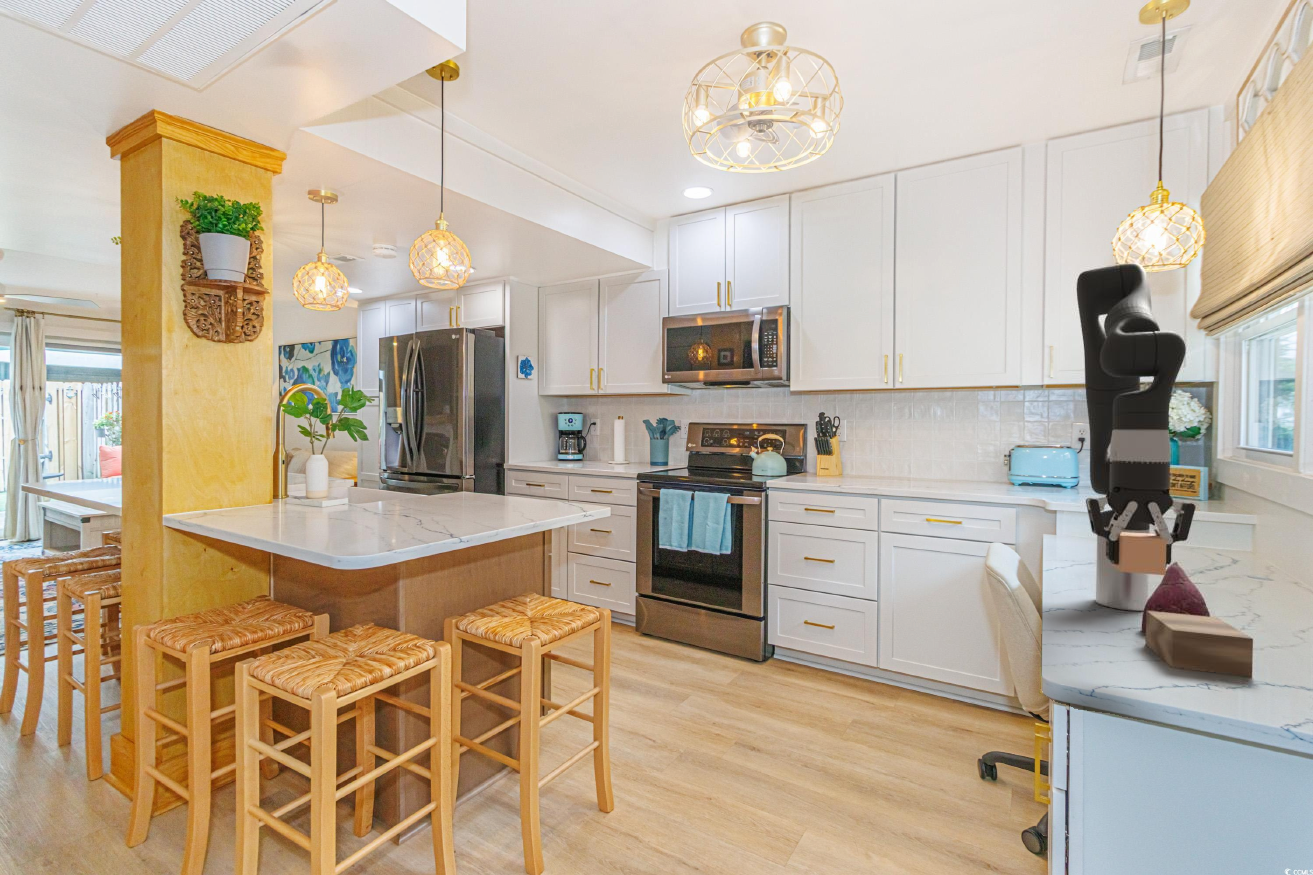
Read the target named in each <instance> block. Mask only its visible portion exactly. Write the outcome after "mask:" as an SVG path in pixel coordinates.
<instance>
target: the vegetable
mask: <svg viewBox="0 0 1313 875" xmlns="http://www.w3.org/2000/svg"><path fill="white" fill-rule="evenodd" d="M1146 611H1156V612H1166V613H1176V614H1186V615H1196V616H1206V617H1211V614H1210V612H1209V608H1208V607H1207V604H1206V601H1205V598H1204V597H1203V595H1202V594H1201V592H1200V590H1199V589H1198V588H1197V586H1196V585H1195V583H1194V582H1192V580H1191V579H1190V578H1189V577H1188V575H1187V574H1186V572H1185V571H1184V568H1182V567H1181V566H1180V565H1179V564H1178V562H1177V561H1174V562H1173V563H1172V564H1170V565H1169V566H1168V567H1167V568H1166V575H1163V577H1162V580H1161V582H1160V583H1159V585H1158V586H1156V589H1155V590H1153V593H1152V594H1151V595H1150V596H1149V597H1148V601H1147V603H1146V605H1145V607H1144V610H1142V616H1141V618H1142V619H1141V632H1142V633H1144V634H1146Z"/></svg>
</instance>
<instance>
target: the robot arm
mask: <svg viewBox="0 0 1313 875" xmlns="http://www.w3.org/2000/svg"><path fill="white" fill-rule="evenodd" d="M1076 299H1077V300H1076V301H1077V307H1078V313H1079V320H1080V321H1079V322H1080V328H1081V334H1082V341H1083V352H1084V353H1083V355H1084V356H1083V357H1084V358H1083V359H1084V385H1085V387H1084V388H1085V397H1086V398H1085V399H1086V408H1087V416H1088V424H1089V477H1090V478H1089V480H1090V486H1091V488H1092V491H1093V492H1095V493H1096V494H1098V495H1102V496H1103V495H1104V496H1105V497H1095V498H1094V497H1087V498H1086V499H1085V504H1086V509H1087V513H1088V514H1087V515H1088V519H1089V524H1090V529H1091V532H1092V533H1093V534H1094V535H1096V568H1095V569H1096V576H1095V577H1096V579H1095V602H1096V603H1097V604H1098V605H1099V604H1100V605H1102V606H1105V607H1108V608H1112V609H1113V608H1114V609H1118V610H1123V611H1124V610H1126V611H1144V607H1145V605H1146V603H1147V601H1148V599H1149V592H1150V591H1149V587H1150V586H1149V584H1150V581H1149V578H1150V574H1143V573H1130V572H1122V571H1120V570H1119V569H1117V568H1115V567H1114V566H1112V565H1111V563H1112V564H1117V565H1118V564H1119V541H1118V538H1119V536H1120V534H1121V532H1129V533H1146V534H1151V533H1150V527H1151V529H1152V530H1153V532H1154V534H1155V535H1156V536H1159V537H1161V538H1164V539H1166V567H1167V565H1169V566H1170V565H1171V563H1172V546H1173V544H1174V543H1178V542H1185V541H1187V540H1188V538H1189V533H1190V531H1191V530H1190V529H1191V526H1192V524H1193V523H1192V522H1193V518H1194V514H1195V511H1196V505H1195V503H1193V502H1189V501H1177V500H1175V499H1173V498H1172V496H1171V493H1170V488H1171V486H1170V485H1171V481H1170V480H1171V459H1172V452H1171V439H1170V431H1169V429H1170V428H1169V427H1170V404H1171V398H1172V393H1173V390H1174V385H1175V383H1176V380H1177V378H1178V375H1179V372H1180V370H1181V367H1182V365H1183V363H1184V360H1185V358H1186V357H1185V356H1186V350H1187V348H1186V347H1187V346H1186V343H1185V340H1184V339H1183V338H1182V336H1180V334H1179V333H1177V332H1176V331H1170V330H1160V326H1159V324H1158V321H1157V319H1156V317H1155V316H1154V314H1153V311H1152V300H1151V299H1152V298H1151V291H1150V285H1149V280H1148V275H1147V273H1146V270H1145V269H1144V266H1142V265H1141V264H1140V263H1137V262H1127V263H1126V262H1125V263H1121V264H1113V265H1109V266H1104V267H1099V268H1094V269H1093V268H1092V269H1089V270H1084V271H1082V272H1081V273H1079V276H1078V277H1077V281H1076ZM1100 316H1105V318H1104V322H1103V326H1102V324H1101V322H1100V320H1099V318H1100ZM1149 377H1152V378H1153V380H1152V382H1151V384H1150V385H1149V386H1148V387H1146V388H1143V389H1141V378H1149ZM1108 450H1109V452H1108ZM1106 505H1108V506H1109V507H1110V508H1111V509H1109V510H1105V506H1106ZM1170 508H1172V509H1173V511H1172V512H1173V513H1174V514H1175V515H1176V517H1175V521H1174V523H1173V527H1172V531H1171V532H1170V531H1169V527H1168V524H1167V522H1166V521H1165V518H1164V517H1163V516H1164V515H1165V514H1166V513H1167V512H1168V511H1169V510H1171V509H1170Z"/></svg>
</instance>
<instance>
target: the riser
mask: <svg viewBox="0 0 1313 875" xmlns="http://www.w3.org/2000/svg"><path fill="white" fill-rule="evenodd" d="M1145 645H1146V646H1147V647H1148V648H1150V649H1151V650H1152V651H1153V652H1154V653H1155V654H1156V655H1158V657H1160V658H1161V659H1162V660H1163V661H1164V662H1166V663H1167V664H1168V665H1169V666H1170V667H1171V668H1175V669H1176V668H1177V669H1182V668H1184V670H1190V669H1192V671H1193V670H1194V671H1198V670H1199V671H1200V672H1206V671H1210V672H1209V673H1214V672H1216V674H1217V673H1218V674H1223V675H1231V676H1240V677H1246V678H1247V677H1248V678H1253V658H1254V657H1253V656H1254V655H1253V654H1254V653H1253V651H1254V648H1253V647H1254V646H1253V645H1254V639H1253V637H1251V636H1249V635H1248V634H1246V633H1244V632H1242V631H1240V630H1239V629H1238V628H1236V627H1234V626H1232V625H1230V624H1229V623H1227V622H1225V621H1224V620H1222V619H1220V618H1219V617H1217V616H1216V617H1215V616H1210V617H1206V616H1196V615H1186V614H1176V613H1166V612H1156V611H1146V633H1145ZM1199 671H1198V672H1199Z"/></svg>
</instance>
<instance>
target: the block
mask: <svg viewBox="0 0 1313 875" xmlns="http://www.w3.org/2000/svg"><path fill="white" fill-rule="evenodd" d="M1118 541H1119V564H1118V565H1117V564H1112V563H1111V565H1112V566H1114V567H1115V568H1117V569H1119V570H1120V571H1122V572H1130V573H1143V574H1149V575H1159V576H1164V575H1166V570H1167V566H1166V539H1164V538H1161V537H1159V536H1156V534H1155V533H1149V534H1146V533H1129V532H1121V534H1120V536H1119V538H1118Z"/></svg>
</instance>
